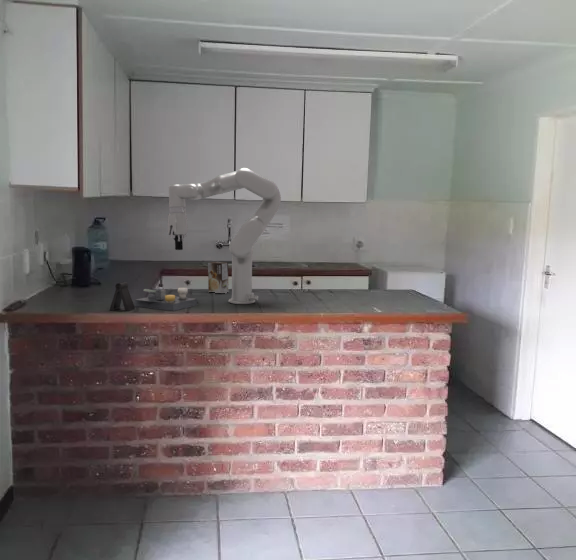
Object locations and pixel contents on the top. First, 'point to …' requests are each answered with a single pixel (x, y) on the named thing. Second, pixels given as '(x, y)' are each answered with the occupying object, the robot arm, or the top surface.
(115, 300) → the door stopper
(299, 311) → the top surface
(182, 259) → the top surface
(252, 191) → the robot arm
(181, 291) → the ivory button
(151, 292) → the rocker paddle
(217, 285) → the coffee box
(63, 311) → the top surface
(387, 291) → the top surface
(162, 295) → the slider knob
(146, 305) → the console
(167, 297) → the amber button
